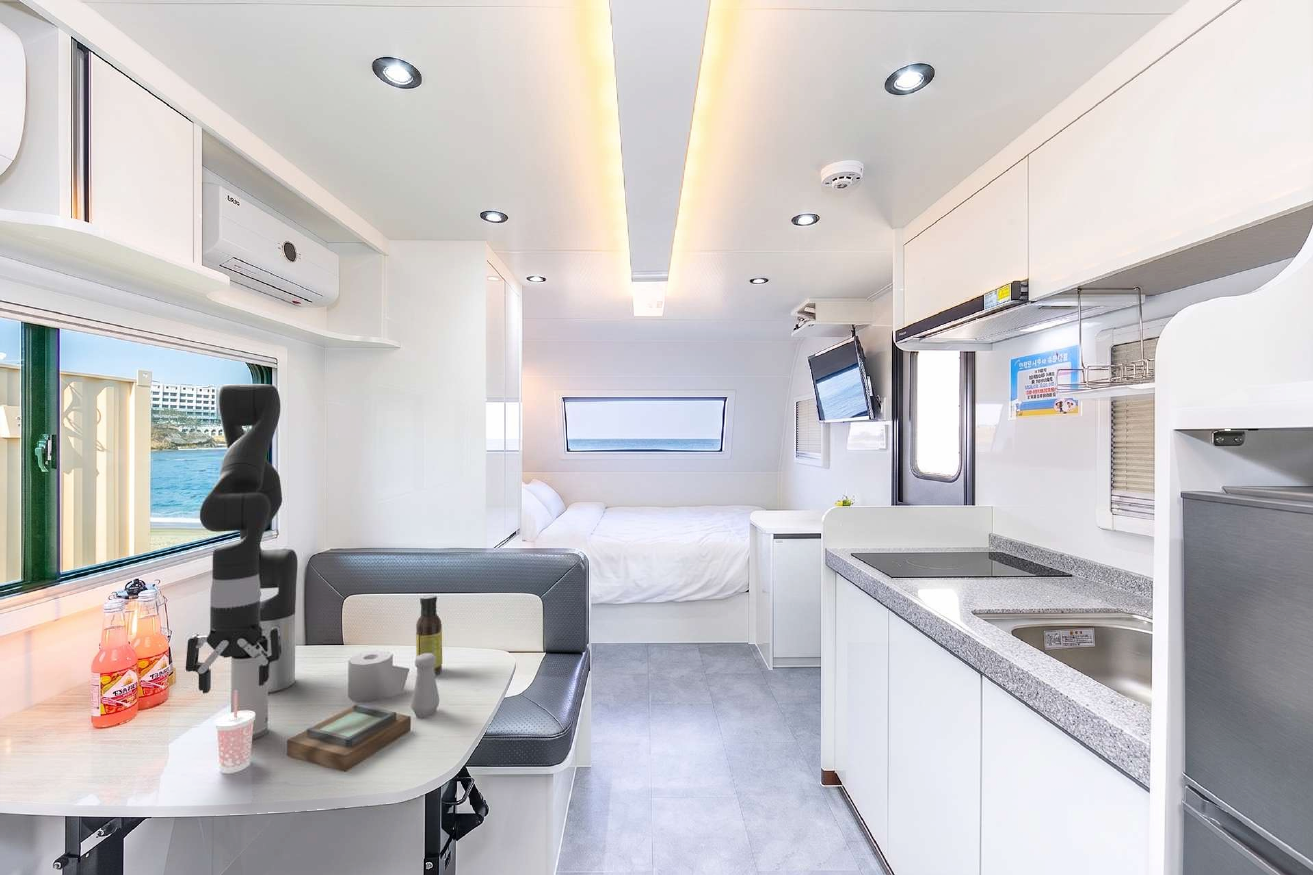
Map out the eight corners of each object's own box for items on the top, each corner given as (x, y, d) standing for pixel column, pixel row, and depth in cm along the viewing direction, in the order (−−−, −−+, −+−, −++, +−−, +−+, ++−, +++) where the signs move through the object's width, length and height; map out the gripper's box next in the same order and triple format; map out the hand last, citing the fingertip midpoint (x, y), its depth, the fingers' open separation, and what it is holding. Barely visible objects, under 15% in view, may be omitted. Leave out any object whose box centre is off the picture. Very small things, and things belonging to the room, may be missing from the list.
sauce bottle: (447, 671, 153) (447, 595, 153) (427, 680, 147) (428, 601, 147) (430, 666, 156) (430, 591, 156) (410, 675, 151) (410, 597, 150)
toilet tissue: (410, 693, 140) (410, 657, 140) (347, 704, 134) (347, 667, 134) (408, 679, 148) (408, 645, 148) (348, 689, 142) (348, 653, 142)
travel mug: (276, 729, 122) (277, 633, 122) (245, 745, 116) (245, 644, 116) (255, 724, 125) (255, 630, 124) (223, 739, 118) (223, 640, 118)
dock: (287, 755, 112) (287, 732, 112) (356, 718, 127) (356, 697, 127) (345, 771, 107) (345, 747, 107) (410, 730, 122) (410, 709, 122)
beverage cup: (229, 778, 105) (230, 700, 105) (206, 771, 107) (207, 695, 107) (263, 761, 111) (263, 686, 111) (240, 754, 113) (241, 682, 113)
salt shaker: (429, 721, 126) (429, 661, 126) (405, 718, 127) (405, 659, 127) (444, 709, 132) (444, 651, 132) (421, 706, 133) (421, 649, 133)
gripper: (181, 610, 102) (180, 703, 102) (277, 601, 108) (276, 689, 108) (194, 599, 109) (193, 686, 109) (284, 591, 115) (283, 674, 115)
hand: (235, 687), depth 109 cm, fingers open, 8 cm apart
